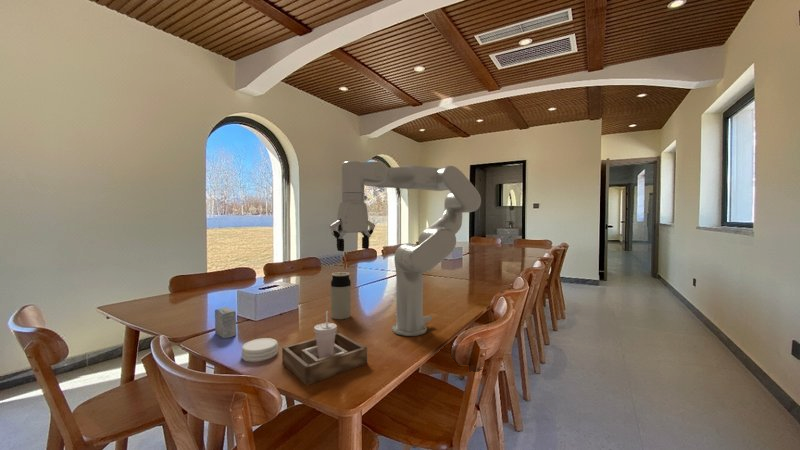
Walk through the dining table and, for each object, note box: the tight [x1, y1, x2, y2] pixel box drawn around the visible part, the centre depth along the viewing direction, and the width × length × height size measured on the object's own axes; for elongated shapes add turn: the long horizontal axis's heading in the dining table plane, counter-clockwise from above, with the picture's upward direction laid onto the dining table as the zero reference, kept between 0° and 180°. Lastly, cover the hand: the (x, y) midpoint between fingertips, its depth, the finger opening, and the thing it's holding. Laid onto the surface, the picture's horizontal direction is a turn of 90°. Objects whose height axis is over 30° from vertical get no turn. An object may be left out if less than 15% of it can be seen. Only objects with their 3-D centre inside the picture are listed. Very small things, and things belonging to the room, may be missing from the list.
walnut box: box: [281, 331, 368, 386], centre depth 92 cm, size 18×16×4 cm
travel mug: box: [330, 271, 352, 320], centre depth 133 cm, size 8×8×18 cm
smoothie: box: [313, 310, 338, 359], centre depth 92 cm, size 6×6×14 cm
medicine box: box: [214, 306, 237, 339], centre depth 114 cm, size 8×4×9 cm, turn 47°
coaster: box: [241, 337, 279, 363], centre depth 97 cm, size 10×10×4 cm
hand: (353, 249), depth 109 cm, fingers open, 9 cm apart
